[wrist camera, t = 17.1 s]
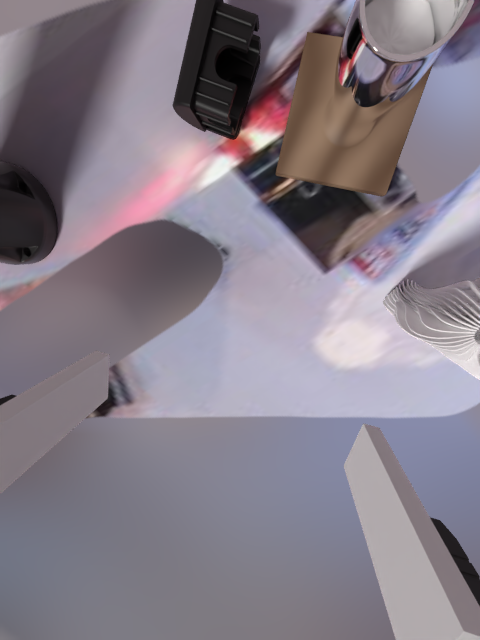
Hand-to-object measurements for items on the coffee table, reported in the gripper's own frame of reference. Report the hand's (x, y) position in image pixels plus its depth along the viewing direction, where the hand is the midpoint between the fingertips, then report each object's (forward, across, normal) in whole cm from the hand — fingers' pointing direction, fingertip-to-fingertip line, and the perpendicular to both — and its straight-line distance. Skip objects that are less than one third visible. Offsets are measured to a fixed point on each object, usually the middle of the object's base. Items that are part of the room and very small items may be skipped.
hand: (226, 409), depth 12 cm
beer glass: (+26, +5, +24) cm, 36 cm away
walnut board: (+27, +5, +24) cm, 36 cm away
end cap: (+27, -11, +25) cm, 38 cm away
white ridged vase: (+27, +20, +5) cm, 34 cm away
